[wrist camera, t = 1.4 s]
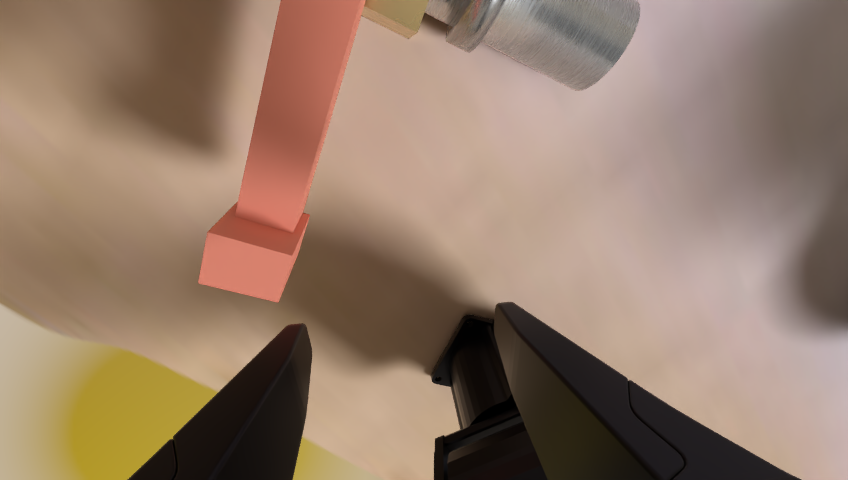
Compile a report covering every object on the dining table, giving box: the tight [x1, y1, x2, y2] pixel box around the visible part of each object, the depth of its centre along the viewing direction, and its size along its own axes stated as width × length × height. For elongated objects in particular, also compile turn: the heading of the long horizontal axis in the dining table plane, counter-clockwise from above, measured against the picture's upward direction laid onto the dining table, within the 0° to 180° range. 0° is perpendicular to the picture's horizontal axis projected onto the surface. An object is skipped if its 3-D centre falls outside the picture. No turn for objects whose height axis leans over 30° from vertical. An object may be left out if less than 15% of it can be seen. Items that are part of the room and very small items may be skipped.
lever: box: [198, 0, 366, 302], centre depth 11 cm, size 15×4×4 cm, turn 157°
